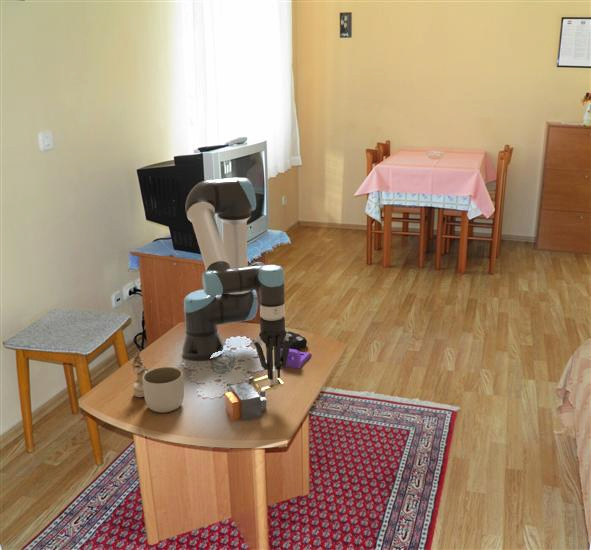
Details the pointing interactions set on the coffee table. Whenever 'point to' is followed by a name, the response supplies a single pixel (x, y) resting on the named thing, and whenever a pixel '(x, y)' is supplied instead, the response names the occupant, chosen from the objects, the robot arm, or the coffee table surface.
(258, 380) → the keeper
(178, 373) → the planter
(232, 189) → the robot arm
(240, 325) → the coffee table surface
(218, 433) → the coffee table surface
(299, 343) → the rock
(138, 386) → the figurine
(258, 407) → the block
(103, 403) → the coffee table surface
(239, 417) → the orange drawer
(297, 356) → the bracket
